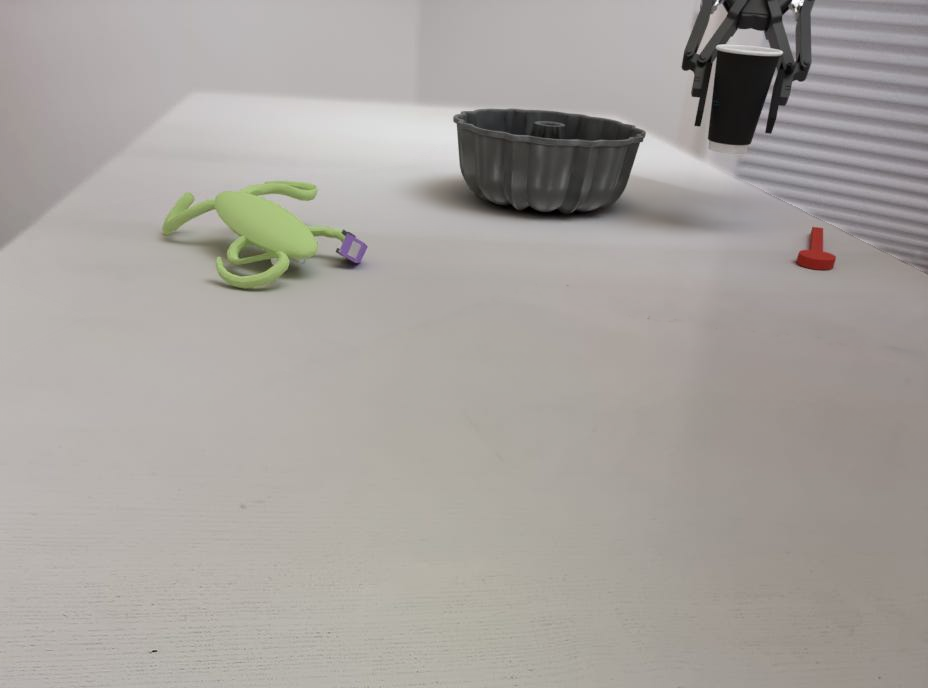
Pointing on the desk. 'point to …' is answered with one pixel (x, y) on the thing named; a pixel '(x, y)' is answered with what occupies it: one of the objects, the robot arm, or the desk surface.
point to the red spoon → (816, 253)
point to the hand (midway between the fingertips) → (734, 122)
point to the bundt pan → (545, 158)
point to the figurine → (264, 229)
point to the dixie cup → (739, 95)
